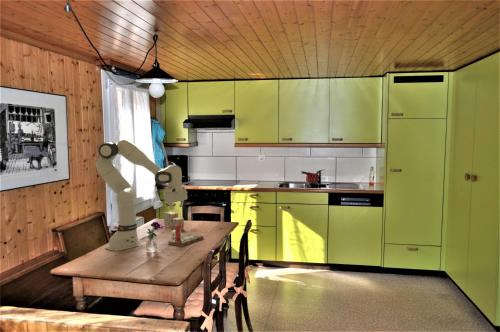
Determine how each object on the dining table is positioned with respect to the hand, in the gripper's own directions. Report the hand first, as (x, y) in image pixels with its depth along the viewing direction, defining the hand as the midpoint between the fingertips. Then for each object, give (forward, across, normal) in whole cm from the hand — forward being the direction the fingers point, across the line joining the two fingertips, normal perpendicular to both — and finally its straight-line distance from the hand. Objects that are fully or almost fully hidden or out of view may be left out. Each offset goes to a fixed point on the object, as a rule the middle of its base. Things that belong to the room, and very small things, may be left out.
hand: (176, 208), depth 271 cm
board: (+24, -3, +5) cm, 24 cm away
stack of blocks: (+24, -29, -29) cm, 47 cm away
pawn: (+21, +6, +5) cm, 23 cm away
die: (+24, -8, -9) cm, 26 cm away
